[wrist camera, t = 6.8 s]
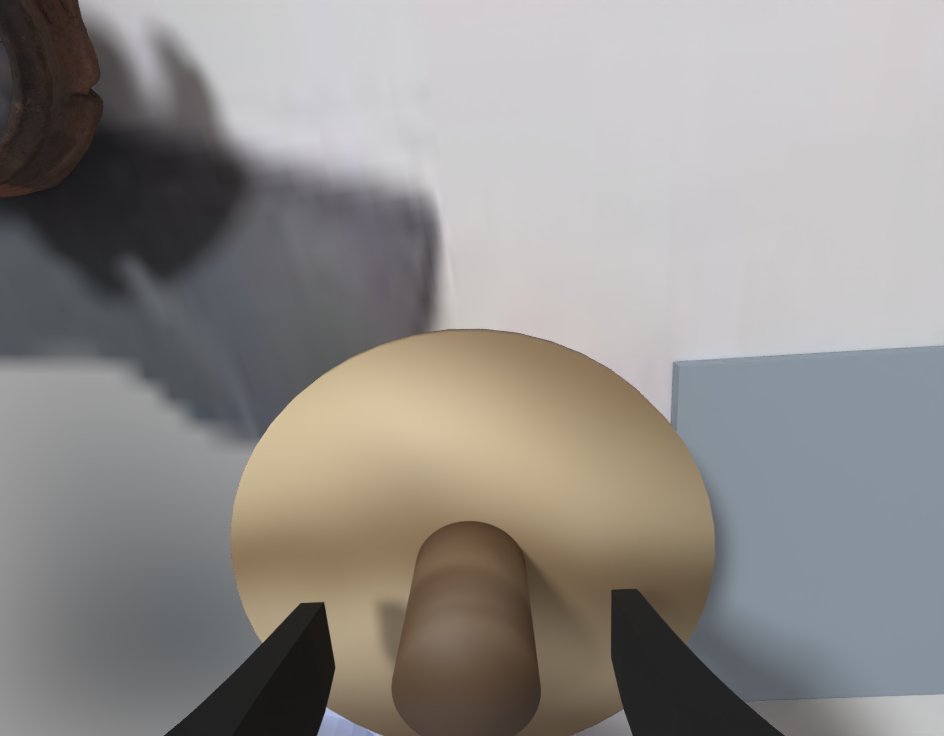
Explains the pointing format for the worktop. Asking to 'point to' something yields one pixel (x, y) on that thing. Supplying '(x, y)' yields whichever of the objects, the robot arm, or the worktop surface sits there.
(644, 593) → the oak lid
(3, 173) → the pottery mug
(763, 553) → the rubber mat
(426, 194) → the worktop surface
